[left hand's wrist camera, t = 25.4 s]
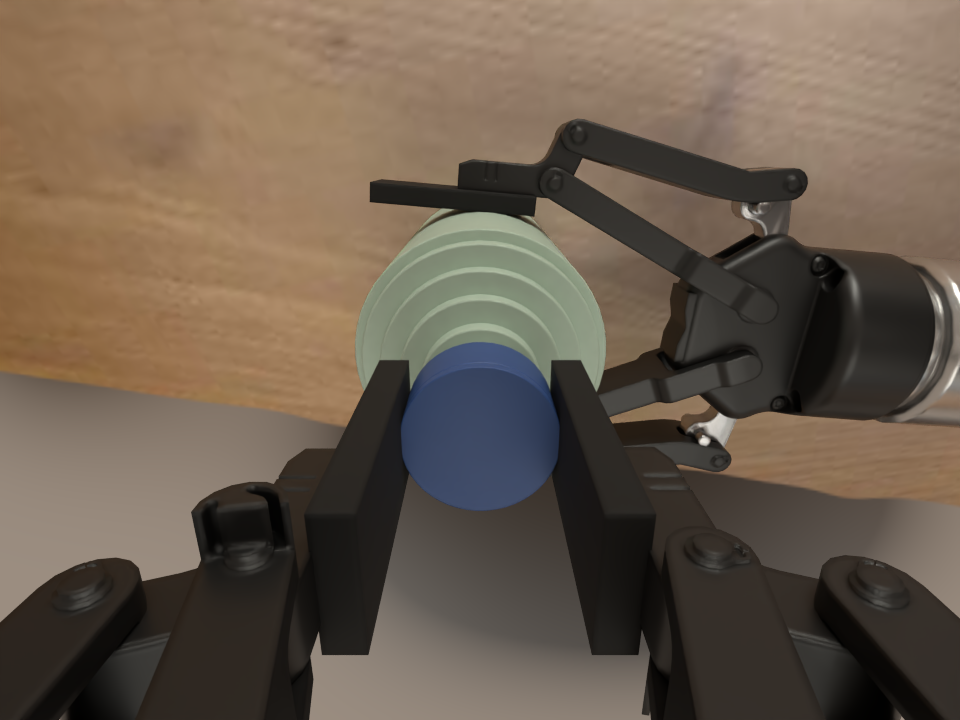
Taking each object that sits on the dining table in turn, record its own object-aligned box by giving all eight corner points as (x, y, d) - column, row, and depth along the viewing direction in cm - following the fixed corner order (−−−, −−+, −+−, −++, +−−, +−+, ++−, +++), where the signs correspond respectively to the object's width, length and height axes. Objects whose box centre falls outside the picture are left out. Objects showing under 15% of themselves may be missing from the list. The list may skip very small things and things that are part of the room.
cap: (536, 481, 15) (543, 521, 14) (400, 461, 15) (390, 500, 13) (566, 354, 14) (577, 381, 12) (418, 330, 14) (409, 354, 12)
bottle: (431, 362, 33) (376, 593, 15) (385, 222, 30) (255, 313, 13) (569, 325, 32) (675, 525, 15) (535, 178, 29) (616, 211, 12)
